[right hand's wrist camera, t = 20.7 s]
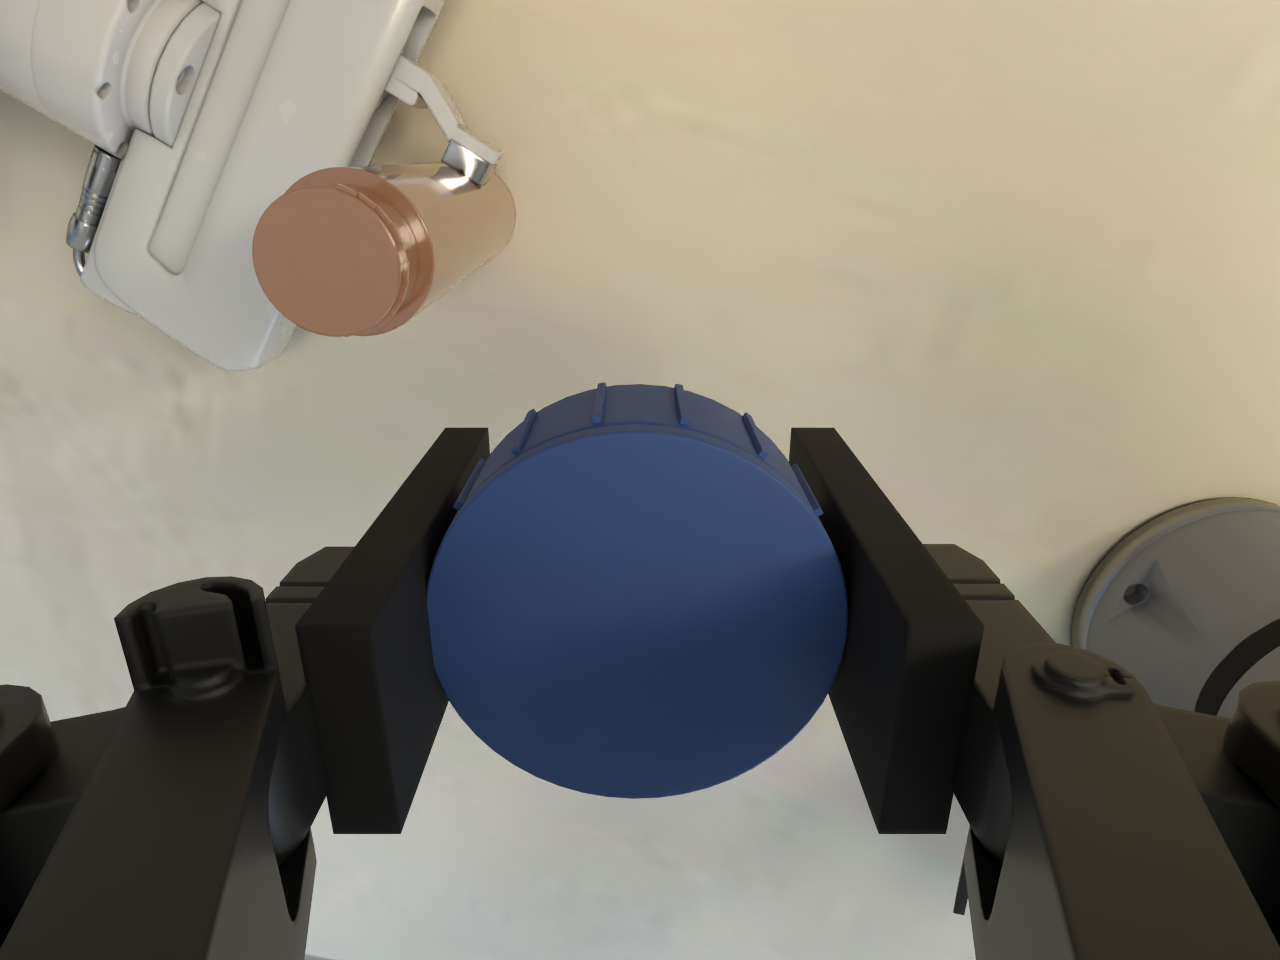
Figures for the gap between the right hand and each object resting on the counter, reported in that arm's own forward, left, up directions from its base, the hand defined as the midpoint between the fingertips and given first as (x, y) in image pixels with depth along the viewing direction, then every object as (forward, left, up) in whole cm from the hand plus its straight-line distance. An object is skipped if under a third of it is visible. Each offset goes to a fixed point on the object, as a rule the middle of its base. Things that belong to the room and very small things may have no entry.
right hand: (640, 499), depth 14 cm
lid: (0, 0, +4) cm, 4 cm away
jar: (+6, -6, -28) cm, 29 cm away
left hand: (+6, -5, -21) cm, 23 cm away
